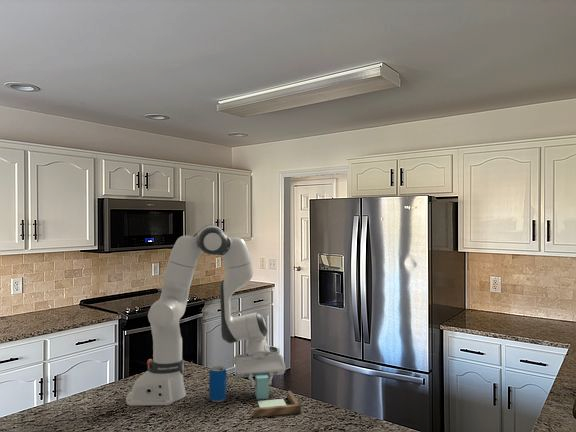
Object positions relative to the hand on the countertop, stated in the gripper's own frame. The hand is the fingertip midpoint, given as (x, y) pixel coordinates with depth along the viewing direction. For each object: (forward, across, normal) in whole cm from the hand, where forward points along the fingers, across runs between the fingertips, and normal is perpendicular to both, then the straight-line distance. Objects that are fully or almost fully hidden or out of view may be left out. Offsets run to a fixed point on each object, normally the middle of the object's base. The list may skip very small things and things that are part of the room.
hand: (262, 385), depth 175 cm
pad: (+10, +2, -3) cm, 10 cm away
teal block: (+3, 0, +4) cm, 5 cm away
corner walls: (+10, +3, -4) cm, 11 cm away
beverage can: (+2, -17, +5) cm, 18 cm away
